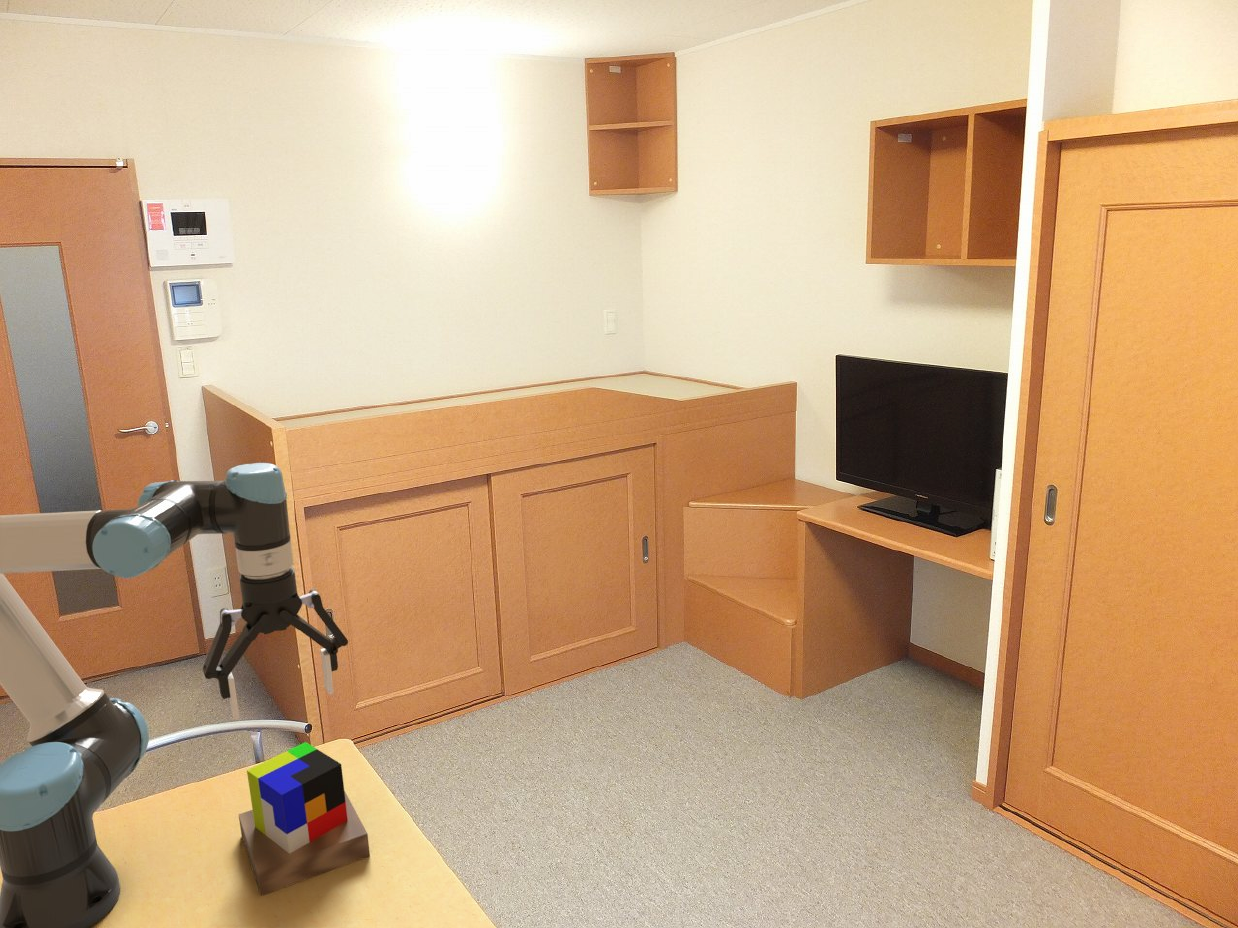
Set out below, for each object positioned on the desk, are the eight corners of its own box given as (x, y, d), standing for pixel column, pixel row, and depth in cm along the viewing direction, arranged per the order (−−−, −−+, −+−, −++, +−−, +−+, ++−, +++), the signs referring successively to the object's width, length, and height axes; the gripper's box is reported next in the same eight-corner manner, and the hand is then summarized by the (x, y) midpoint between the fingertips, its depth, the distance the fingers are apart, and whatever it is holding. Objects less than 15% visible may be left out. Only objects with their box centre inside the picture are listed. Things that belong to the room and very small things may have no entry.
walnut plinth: (261, 895, 134) (257, 872, 133) (241, 835, 148) (238, 814, 147) (369, 855, 142) (367, 833, 141) (342, 802, 156) (339, 781, 155)
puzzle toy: (289, 853, 137) (281, 794, 135) (255, 826, 144) (246, 770, 141) (347, 820, 145) (341, 763, 142) (312, 796, 151) (305, 741, 148)
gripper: (175, 597, 124) (196, 738, 130) (360, 560, 136) (372, 690, 142) (169, 580, 130) (190, 714, 136) (346, 546, 143) (359, 671, 148)
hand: (283, 702), depth 139 cm, fingers open, 13 cm apart
